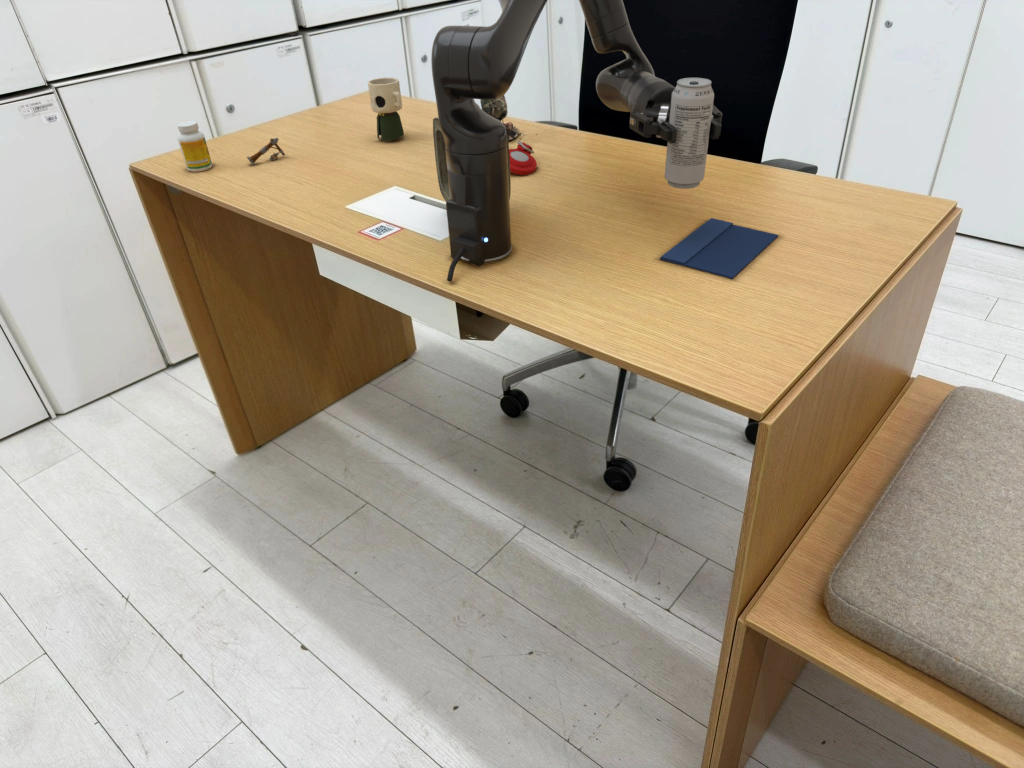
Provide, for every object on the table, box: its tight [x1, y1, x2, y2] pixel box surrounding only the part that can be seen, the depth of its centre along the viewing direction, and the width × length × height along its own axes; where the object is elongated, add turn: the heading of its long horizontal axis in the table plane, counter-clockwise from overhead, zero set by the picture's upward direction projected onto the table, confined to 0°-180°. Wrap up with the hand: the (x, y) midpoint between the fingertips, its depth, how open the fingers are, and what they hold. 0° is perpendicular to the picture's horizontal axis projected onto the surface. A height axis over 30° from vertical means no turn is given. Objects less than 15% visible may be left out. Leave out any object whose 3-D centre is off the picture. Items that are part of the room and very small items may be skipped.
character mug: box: [367, 77, 405, 142], centre depth 164 cm, size 11×7×13 cm, turn 47°
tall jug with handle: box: [432, 103, 512, 202], centre depth 119 cm, size 14×9×25 cm, turn 21°
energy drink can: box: [664, 77, 715, 190], centre depth 107 cm, size 6×6×15 cm
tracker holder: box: [509, 140, 538, 176], centre depth 148 cm, size 12×4×10 cm
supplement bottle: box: [177, 120, 213, 173], centre depth 153 cm, size 5×5×10 cm
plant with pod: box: [479, 95, 521, 142], centre depth 160 cm, size 8×11×20 cm
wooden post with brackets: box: [246, 137, 286, 166], centre depth 158 cm, size 2×8×4 cm, turn 125°
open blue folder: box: [659, 217, 779, 280], centre depth 113 cm, size 18×12×1 cm, turn 142°
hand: (695, 134), depth 104 cm, fingers closed on energy drink can, 6 cm apart
